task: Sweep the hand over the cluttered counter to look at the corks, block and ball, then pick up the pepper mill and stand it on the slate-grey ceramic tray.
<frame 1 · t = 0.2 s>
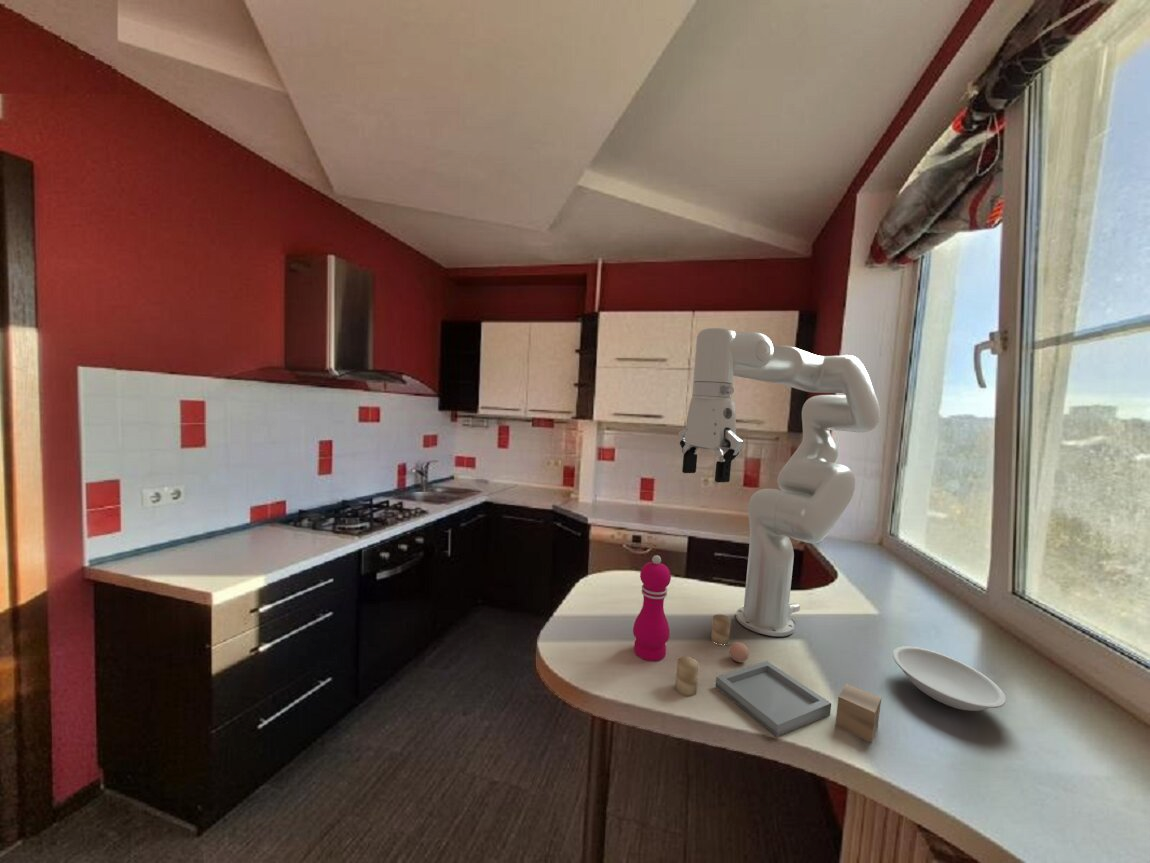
hand: (704, 477, 92), 36 cm above the countertop, tool pointing down, fingers open, 9 cm apart
cork b: (719, 641, 97), on the countertop
tray: (770, 700, 79), on the countertop
pepper mill: (649, 653, 91), on the countertop
dish: (941, 700, 82), on the countertop
walnut block: (856, 726, 73), on the countertop
ball: (739, 652, 90), point 2 cm above the countertop
cork a: (685, 689, 80), on the countertop
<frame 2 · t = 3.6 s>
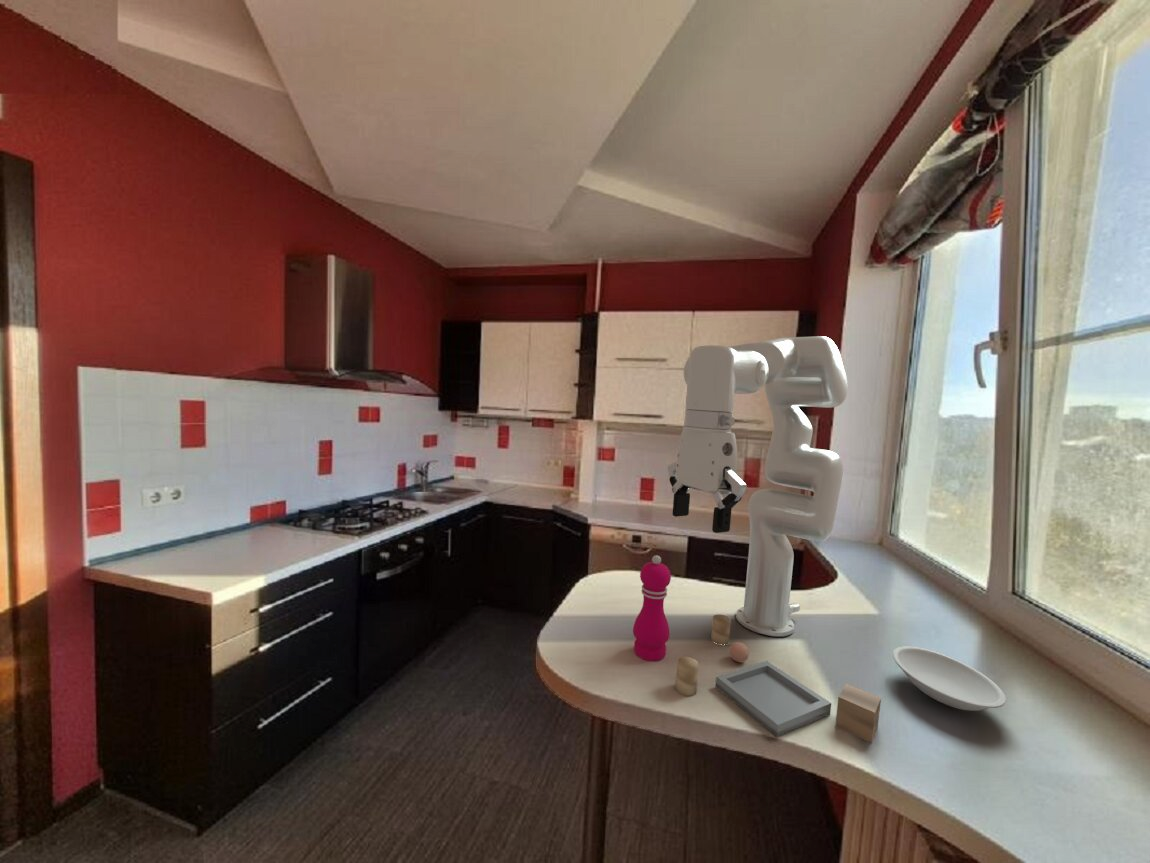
hand: (699, 523, 76), 30 cm above the countertop, tool pointing down, fingers open, 9 cm apart
nothing on the countertop moved.
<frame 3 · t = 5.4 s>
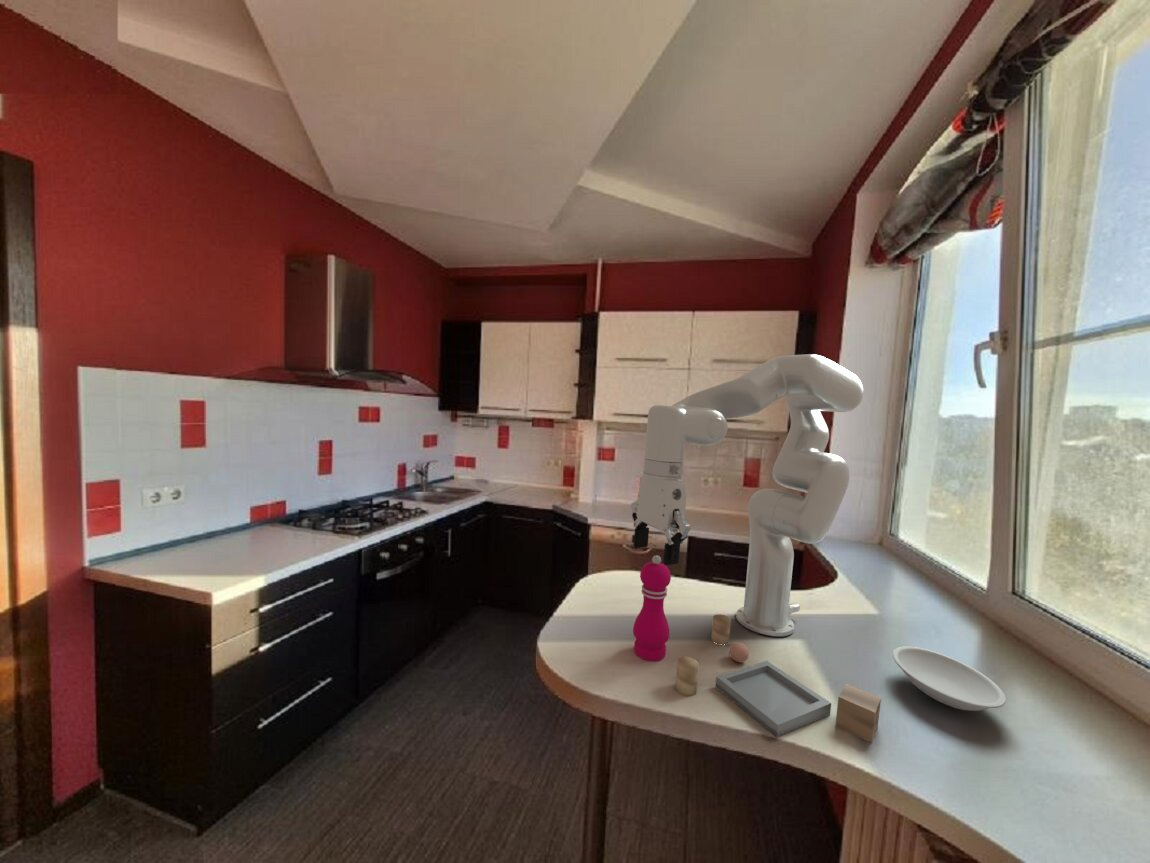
hand: (654, 555, 89), 20 cm above the countertop, tool pointing down, fingers open, 9 cm apart
nothing on the countertop moved.
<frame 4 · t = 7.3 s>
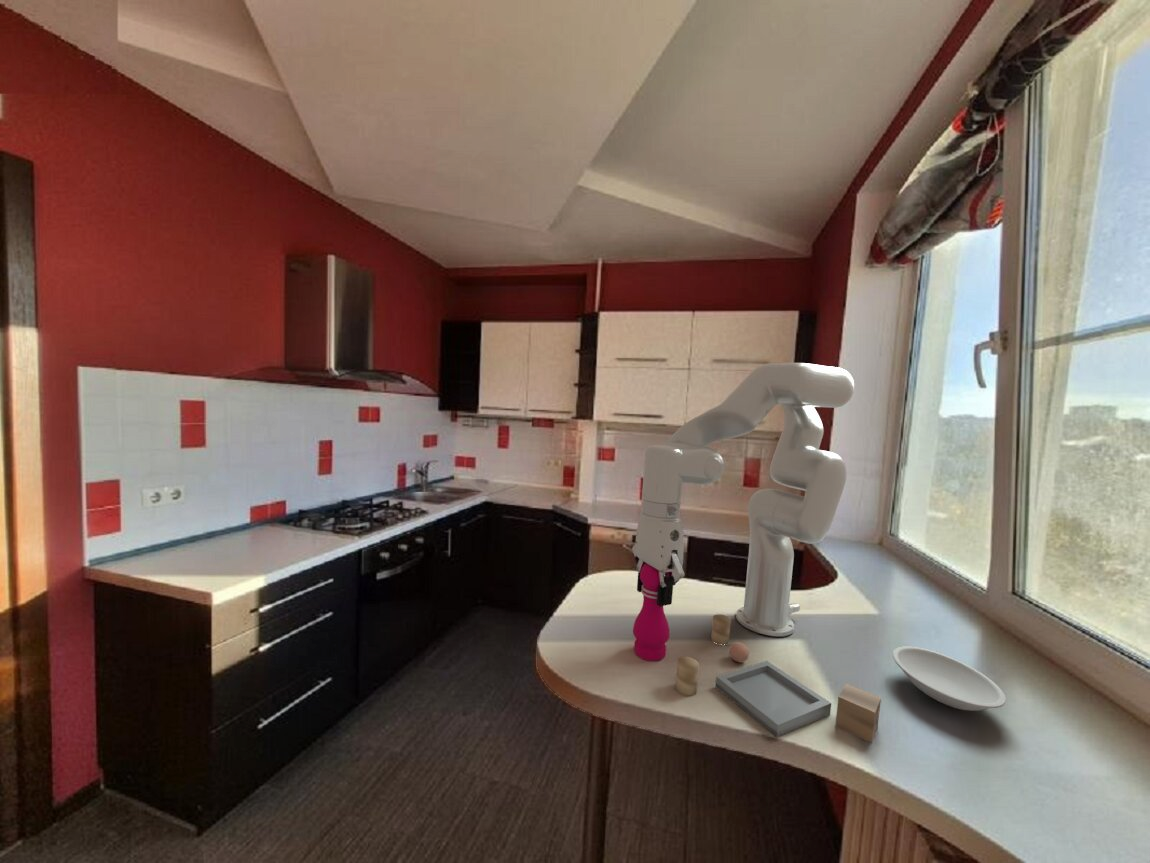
hand: (653, 596, 90), 12 cm above the countertop, tool pointing down, fingers closed on pepper mill, 5 cm apart
pepper mill: (649, 653, 91), on the countertop, touching gripper
everything else where it was.
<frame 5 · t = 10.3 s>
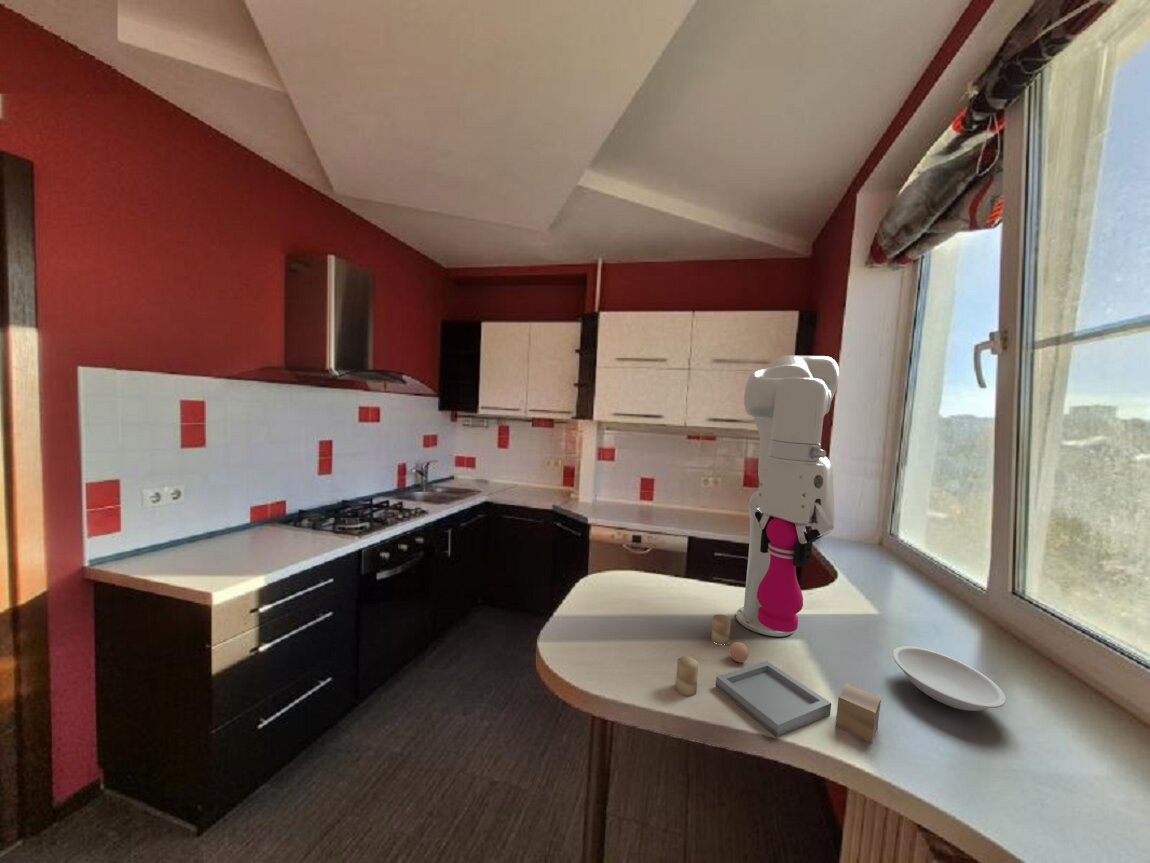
hand: (783, 557, 77), 25 cm above the countertop, tool pointing down, fingers closed on pepper mill, 5 cm apart
pepper mill: (777, 624, 78), point 14 cm above the countertop, touching gripper
everything else where it was.
when the fingers open (13 cm above the countertop, at t = 13.4 s): pepper mill stays where it is, resting on tray.
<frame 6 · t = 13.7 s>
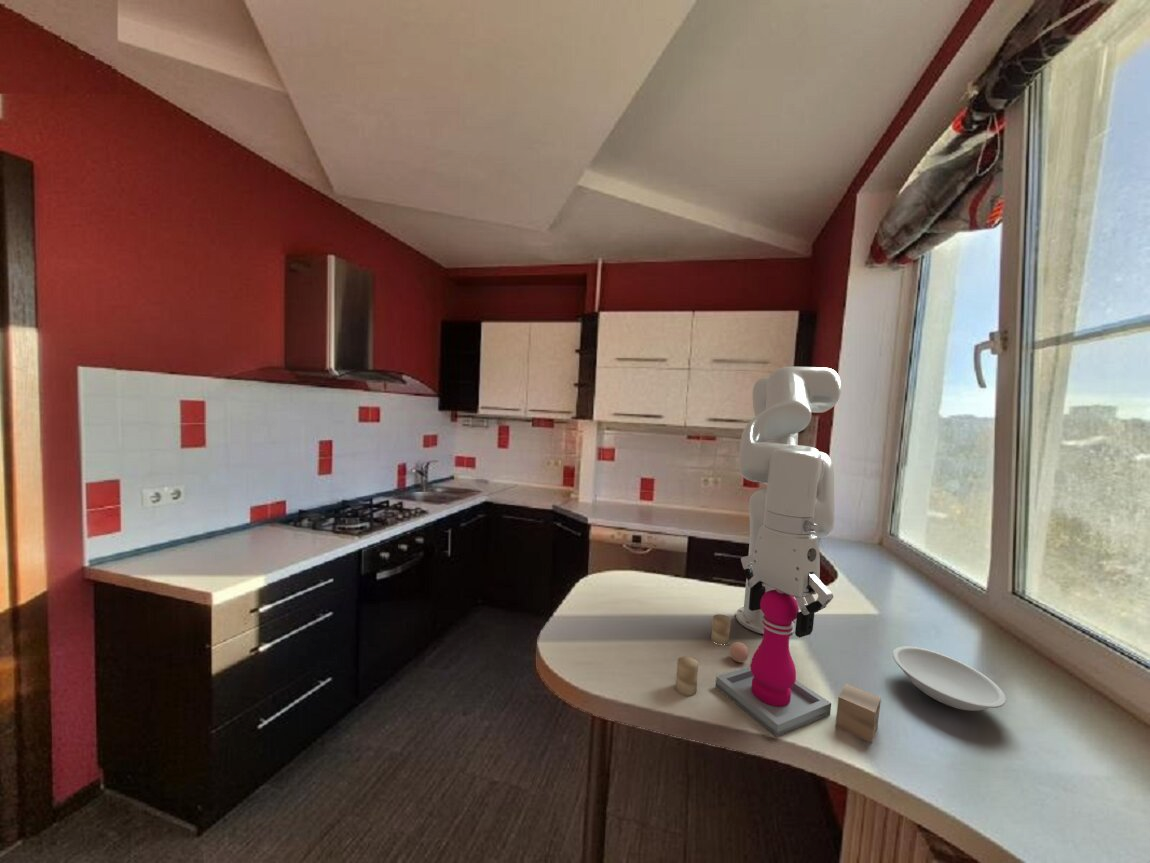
hand: (778, 621, 77), 14 cm above the countertop, tool pointing down, fingers open, 9 cm apart
pepper mill: (770, 695, 79), point 1 cm above the countertop, touching tray
everything else where it was.
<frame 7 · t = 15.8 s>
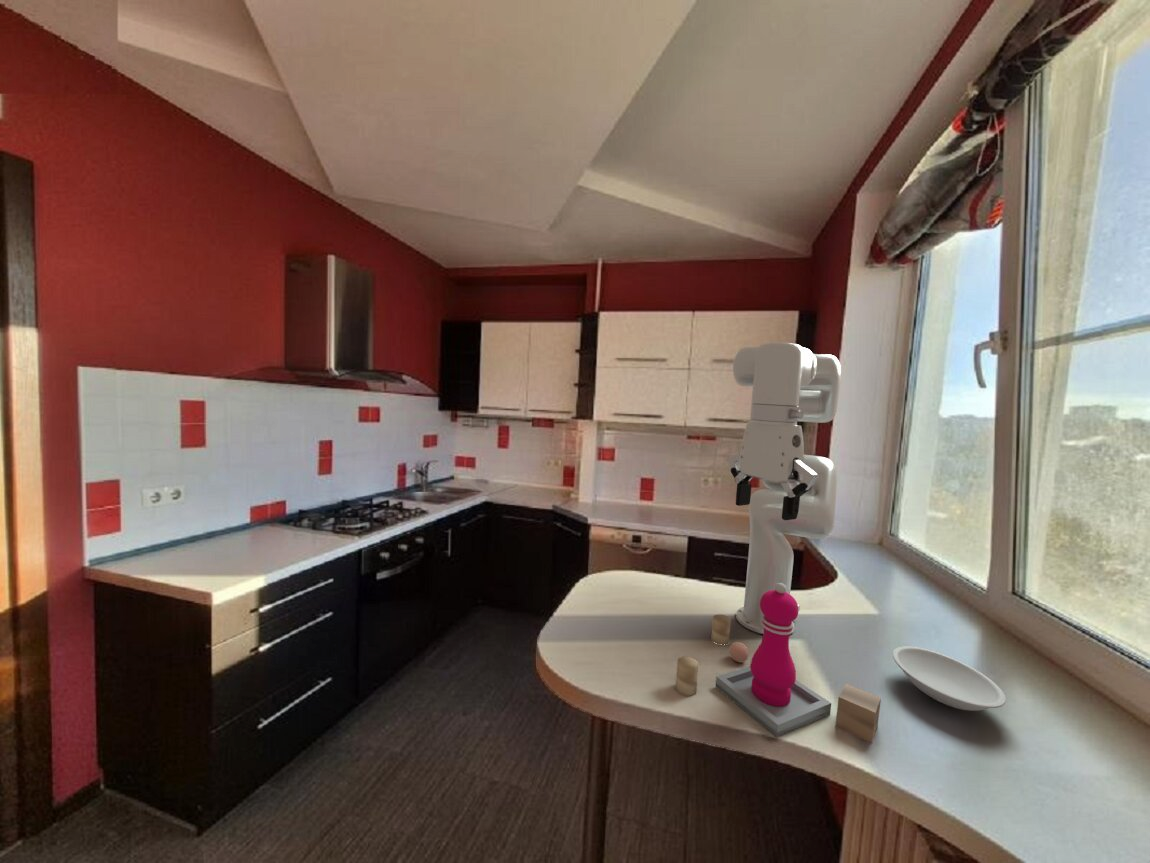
hand: (764, 511, 81), 32 cm above the countertop, tool pointing down, fingers open, 9 cm apart
nothing on the countertop moved.
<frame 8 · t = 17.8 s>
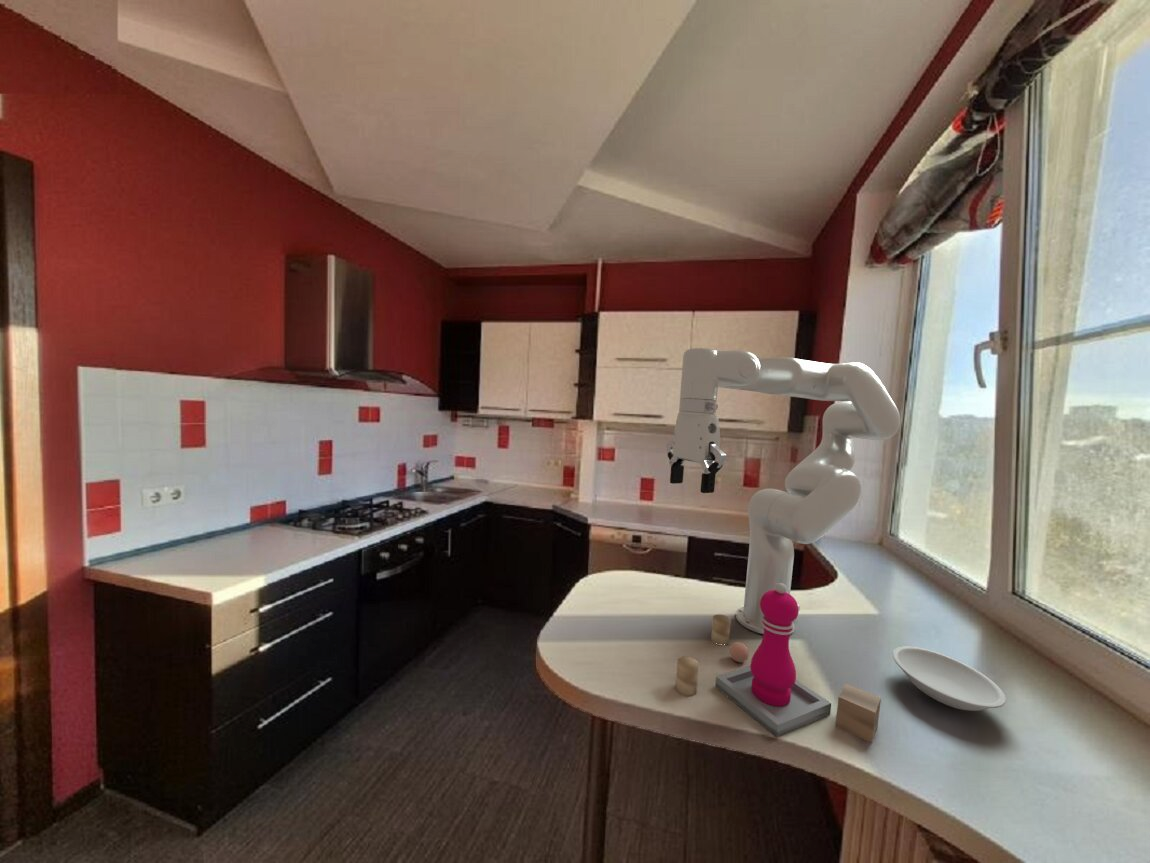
hand: (691, 487, 97), 32 cm above the countertop, tool pointing down, fingers open, 9 cm apart
nothing on the countertop moved.
at the end: pepper mill inside the target area on the tray (0.2 cm from its centre), point 0.6 cm above the tray's base; pepper mill tilted 0°; the gripper is holding nothing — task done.
